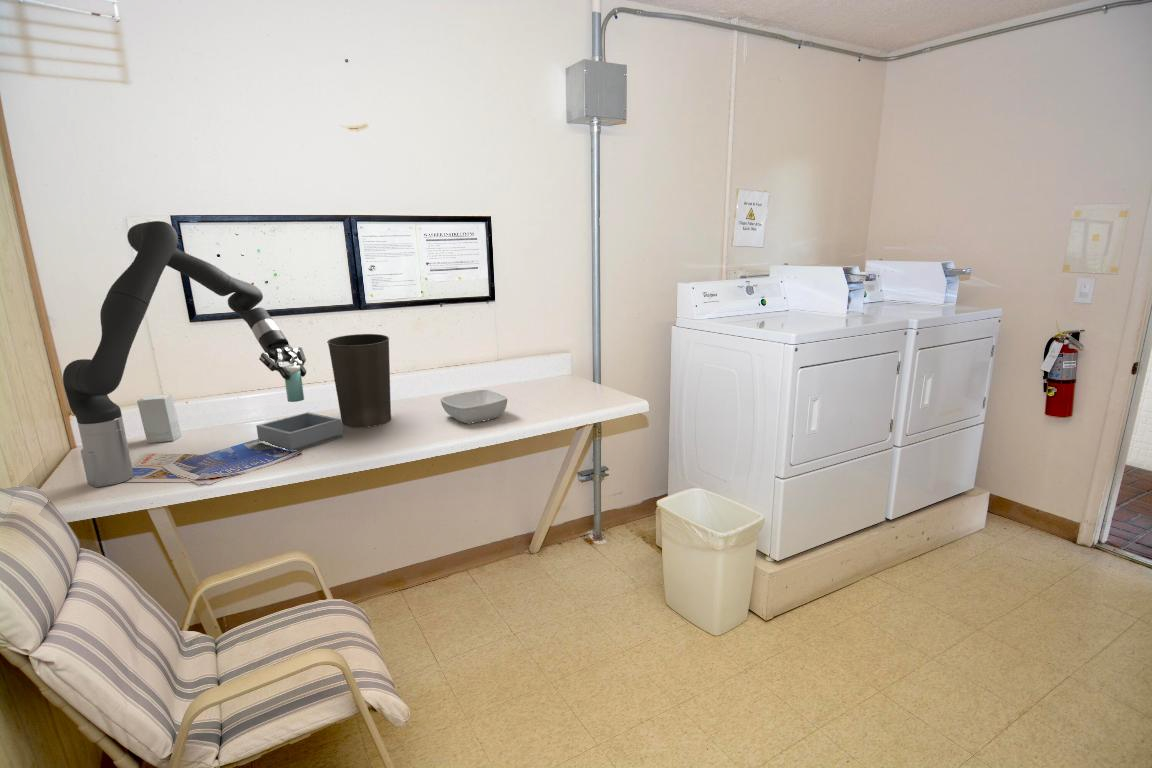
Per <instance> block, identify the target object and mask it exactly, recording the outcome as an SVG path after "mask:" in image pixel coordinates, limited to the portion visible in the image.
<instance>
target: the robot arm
mask: <svg viewBox="0 0 1152 768" xmlns="http://www.w3.org/2000/svg"><path fill="white" fill-rule="evenodd" d="M126 237H127V241H128V243H129V245H130V247H132V249H133V250H134V251H136V252H137V253H136V256H135V258H134V259H133V261H132V262H131V264H130V265H129V266H128V267H127V268H126V269H125V270H124V271H123V273H121V275H119V277H118V278H117V279H116V280H115V281H114V283H113V284H112V285H111V286H110V288H109V290H108V292H107V294H106V296H105V299H103V300H104V301H103V303H102V305H101V308H100V314H99V315H100V326H101V327H100V328H101V338H100V341H99V345H98V346H97V348H96V351H95V353H94V354H93V357H92V359H88V358H86V359H85V358H83V359H82V358H80V359H76V360H72V361H70V363H68V364H67V365H66V367H65V368H64V370H63V373H62V374H63V375H62V382H63V383H62V384H63V389H64V392H65V395H66V399H67V402H68V406H69V409H70V411H71V413H72V414H73V415H74V416H75V418H76V422H77V427H78V432H79V437H80V440H81V445H82V449H81V450H80V454H81V459H82V463H83V468H84V472H85V476H86V481H87V484H88V485H90V486H92V487H94V488H100V487H106V486H107V487H108V486H112V485H117V484H120V483H123V482H126V481H129V480H131V479H133V478H134V476H133V475H134V468H133V466H132V459H131V454H130V450H129V446H128V439H127V434H126V430H125V425H124V420H123V415H122V410H121V408H120V406H119V405H117V403H115V402H113V401H112V400H111V399H110V397H109V395H110V394H111V393H113V392H114V391H115V390H116V389H118V387H119V385H120V384H121V381H122V379H123V376H124V372H125V368H126V365H127V361H128V358H129V354H130V351H131V349H132V345H133V343H134V341H135V338H136V336H137V334H138V331H139V328H140V326H141V324H142V321H143V320H144V317H145V315H146V313H147V310H148V308H149V306H150V303H151V300H152V297H153V296H154V293H155V291H156V289H157V287H158V283H159V281H160V279H161V276H162V274H163V273H164V271H165V268H166V266H167V267H168V268H171V269H173V270H176V271H178V272H179V273H180V274H183V275H184V276H187V277H189V278H190V279H192V280H193V281H195V282H197V283H198V284H200V285H202V286H203V287H205V288H206V289H208V290H210V291H211V292H212V293H213V294H216V295H218V296H220V297H226V296H228V295H230V296H229V297H228V299H227V305H228V308H229V309H230V310H232V311H233V312H234V313H235V314H237V315H238V316H239V317H241V318H242V320H243V321H244V322H246V324H247V325H248V327H249V329H250V330H251V331H252V333H253V335H254V337H255V339H256V341H257V342H258V344H259V345H260V347H261V348H262V350H263V351H264V352H261V354H260V356H259V359H258V360H260V362H261V363H262V364H264V365H265V366H266V368H268V369H269V370H270V371H271V372H274V371H276V372H278V373H279V374H280V376H281V377H282V379H284V381H285V380H289V378H290V374H289V373H288V371H287V370H286V368H285V367H284V364H283V363H289V364H290V365H300V371H301V378H304V377H305V376H306V375H307V369H306V368H305V366H304V365H305V363H306V361H307V359H306V356H305V352H304V351H303V348H302V347H301V346H299V347H298V348H293V346H291V345H290V344H289V341H288V339H287V337H286V336H285V335H284V333H283V332H282V330H281V329H280V327H279V326H278V325H277V324H276V322H275V321H274V320H273V318H272V317H271V315H270V313H268V311H267V309H266V308H263V307H256V306H258V305H259V304H260V303H261V302H262V301H263V299H264V295H263V293H262V290H260V289H259V288H258V286H256V285H254V284H251V283H249V282H247V281H244V280H240V279H238V278H235V277H233V276H231V275H229V274H228V273H227V272H225V271H223V270H221V268H219V267H217V266H216V265H214V264H212V263H210V262H208V261H205V260H203V259H201V258H198V257H196V256H193V255H192V254H189V253H187V252H184V251H183V250H181V249H179V248H177V247H178V244H179V236H178V233H177V230H176V229H175V228H174V227H173V226H172V224H170V223H168V222H167V221H161V220H154V221H153V220H152V221H146V222H141V223H138V224H134V225H132V226H131V227H130V228H129V229H128V232H127V235H126ZM130 478H131V479H130Z"/></svg>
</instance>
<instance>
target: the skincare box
mask: <svg viewBox="0 0 1152 768" xmlns="http://www.w3.org/2000/svg"><path fill="white" fill-rule="evenodd" d="M136 402H137V403H136V404H137V407H138V410H139V414H140V415H139V416H140V419H141V423H142V427H143V431H144V436H145V439H146V444H151V443H163V442H164V443H165V442H174V441H176V440H178V439H179V438H181V437H182V431H181V428H180V423H179V419H178V413H177V411H176V406H175V402H174V398H173V394H172V393H171V394H169V393H168V394H161V395H159V394H158V395H148V396H144V397H142V398H140V399H138V400H136Z"/></svg>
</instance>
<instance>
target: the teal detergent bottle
mask: <svg viewBox="0 0 1152 768" xmlns="http://www.w3.org/2000/svg"><path fill="white" fill-rule="evenodd" d="M283 367H285V368H286V370H287V371H288V373H289V374H290V378H289V380H285V379H284V382H285V385H284V386H285V390H286V398H287V402H289V403H297V402H301V401H302V402H303V401H304V400H305V396H304V388H303V387H304V385H303V381H302V378H303V377H302V376H301V371H300V365H293V364H290V365H289V364H288V365H285V366H284V365H283Z"/></svg>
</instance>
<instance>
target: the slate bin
mask: <svg viewBox="0 0 1152 768" xmlns="http://www.w3.org/2000/svg"><path fill="white" fill-rule="evenodd" d="M342 428H343V427H342V420H341V418H338V417H337V418H336V417H331V416H328V415H322V414H318V413H314V412H309V411H308V412H304V413H299V414H295V415H291V416H288V417H283V418H280V419H276V420H272V421H268V422H265V423H261V424H256V432H257V441H259V440H260V441H265V442H268V443H270V444H272V445H275V446H278V447H282V448H285V449H288V450H298V451H301V450H304V449H307V448H311V447H314V446H316V445H317V446H318V445H320V444H324V443H326V442H330V441H333V440H336V439H340V438H343V429H342Z"/></svg>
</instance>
